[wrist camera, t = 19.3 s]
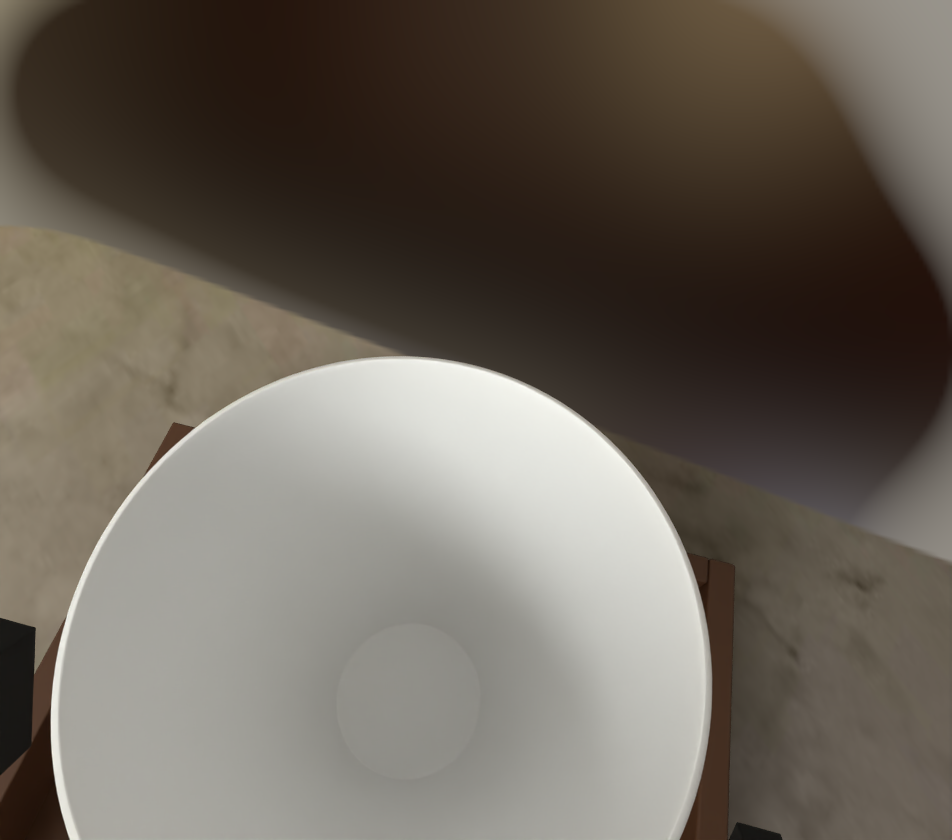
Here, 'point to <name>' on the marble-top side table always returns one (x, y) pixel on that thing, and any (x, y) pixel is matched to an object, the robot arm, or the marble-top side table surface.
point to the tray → (705, 835)
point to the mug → (385, 626)
